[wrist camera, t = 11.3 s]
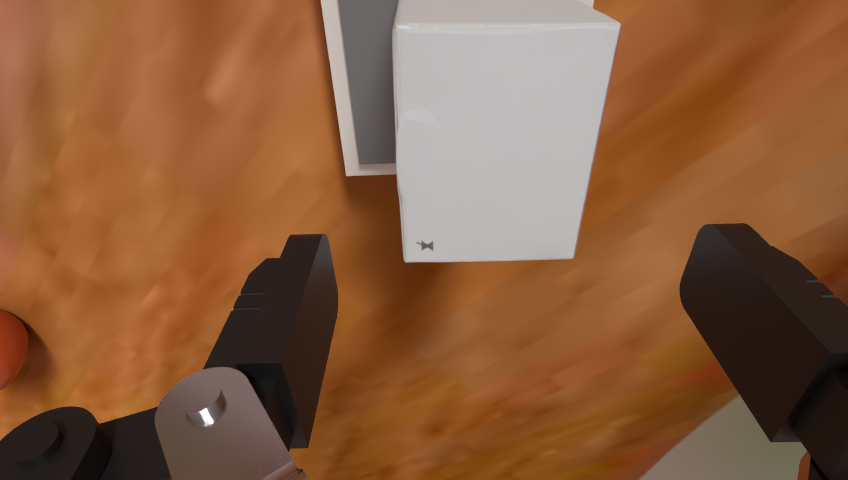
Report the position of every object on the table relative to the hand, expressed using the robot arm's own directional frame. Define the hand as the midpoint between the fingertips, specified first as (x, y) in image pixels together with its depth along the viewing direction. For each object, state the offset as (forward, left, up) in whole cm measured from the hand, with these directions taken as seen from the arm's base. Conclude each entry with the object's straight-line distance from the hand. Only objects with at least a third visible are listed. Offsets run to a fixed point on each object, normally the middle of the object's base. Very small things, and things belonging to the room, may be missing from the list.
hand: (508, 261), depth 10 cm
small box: (0, 0, -18) cm, 18 cm away
